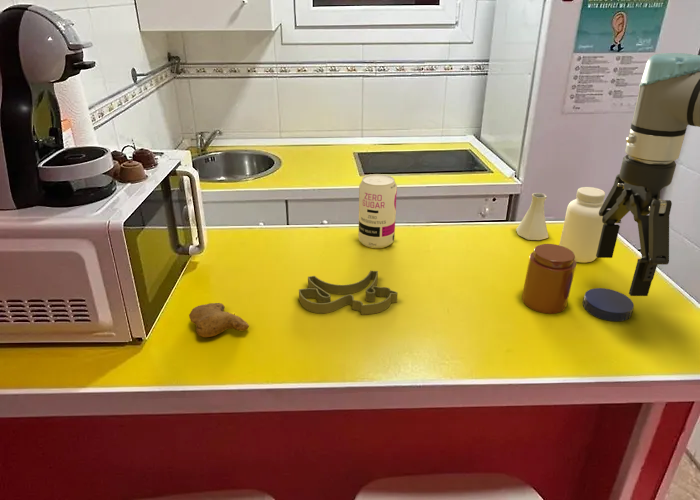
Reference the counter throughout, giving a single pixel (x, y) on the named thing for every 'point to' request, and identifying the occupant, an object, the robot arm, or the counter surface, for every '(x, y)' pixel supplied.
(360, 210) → the supplement can
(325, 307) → the cookie cutter
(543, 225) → the flask
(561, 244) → the pill bottle
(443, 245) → the counter surface
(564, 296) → the jam jar
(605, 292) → the jam lid
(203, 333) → the brown irregular lump
